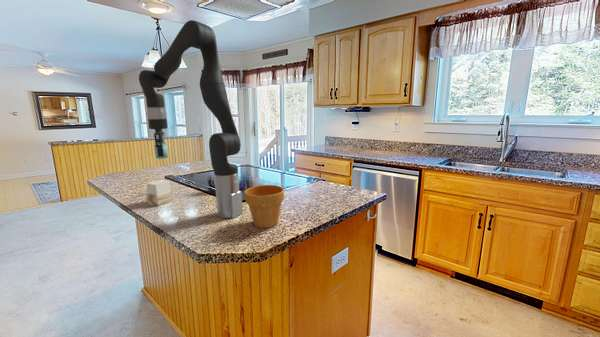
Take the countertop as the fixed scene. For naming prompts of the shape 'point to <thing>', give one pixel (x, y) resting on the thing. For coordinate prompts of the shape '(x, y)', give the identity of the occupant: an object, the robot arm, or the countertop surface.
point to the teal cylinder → (163, 151)
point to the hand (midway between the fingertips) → (161, 155)
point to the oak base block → (159, 199)
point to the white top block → (158, 187)
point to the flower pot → (265, 204)
